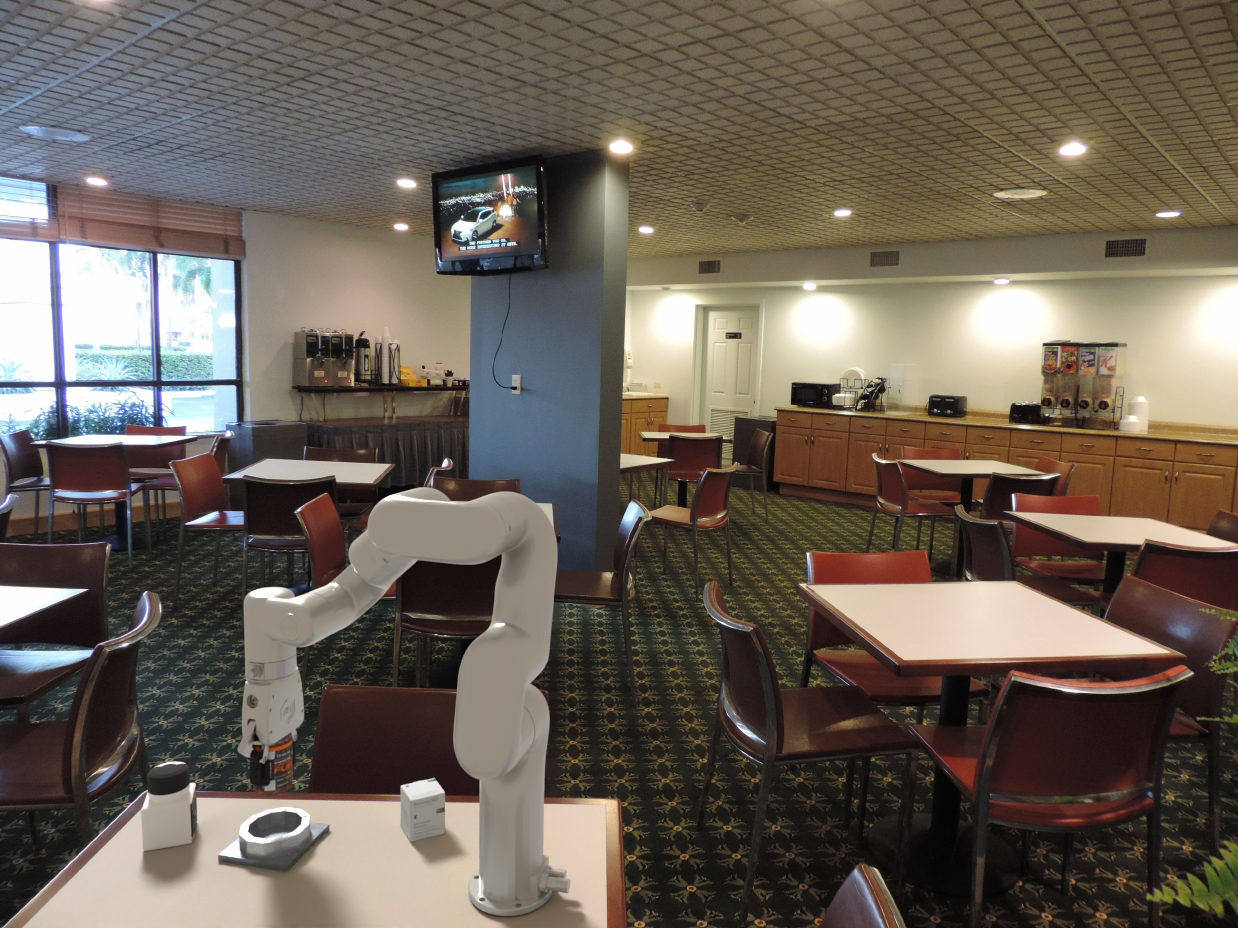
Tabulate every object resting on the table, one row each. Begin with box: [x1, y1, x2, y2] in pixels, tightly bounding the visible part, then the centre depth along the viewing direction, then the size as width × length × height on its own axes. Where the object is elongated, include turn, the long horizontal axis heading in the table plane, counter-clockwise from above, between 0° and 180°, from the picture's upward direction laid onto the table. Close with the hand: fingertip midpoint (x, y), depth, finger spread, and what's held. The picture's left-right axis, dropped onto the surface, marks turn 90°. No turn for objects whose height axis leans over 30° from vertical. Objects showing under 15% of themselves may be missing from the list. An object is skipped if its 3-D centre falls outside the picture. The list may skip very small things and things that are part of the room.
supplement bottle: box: [252, 733, 294, 797], centre depth 131 cm, size 6×6×11 cm
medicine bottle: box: [140, 761, 198, 852], centre depth 134 cm, size 7×7×12 cm
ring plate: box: [217, 806, 331, 873], centre depth 133 cm, size 12×12×4 cm
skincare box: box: [399, 777, 446, 843], centre depth 138 cm, size 6×6×7 cm
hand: (273, 773), depth 132 cm, fingers closed on supplement bottle, 5 cm apart
